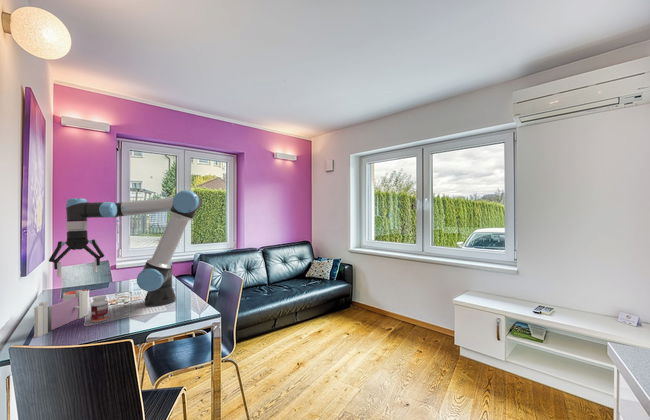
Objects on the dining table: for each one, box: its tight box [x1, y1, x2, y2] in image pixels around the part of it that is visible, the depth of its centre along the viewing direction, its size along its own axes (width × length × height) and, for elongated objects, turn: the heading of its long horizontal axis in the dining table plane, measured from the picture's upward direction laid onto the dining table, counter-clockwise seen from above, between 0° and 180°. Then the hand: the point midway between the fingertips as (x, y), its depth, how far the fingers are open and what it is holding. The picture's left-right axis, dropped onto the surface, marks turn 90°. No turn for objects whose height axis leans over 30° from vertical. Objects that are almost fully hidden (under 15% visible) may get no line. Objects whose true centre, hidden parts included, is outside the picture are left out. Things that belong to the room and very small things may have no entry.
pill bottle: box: [90, 294, 109, 323], centre depth 132 cm, size 6×6×11 cm
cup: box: [62, 289, 90, 311], centre depth 144 cm, size 10×10×10 cm
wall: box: [33, 289, 88, 338], centre depth 126 cm, size 2×25×13 cm, turn 2°
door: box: [48, 297, 79, 333], centre depth 126 cm, size 3×15×10 cm, turn 2°
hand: (78, 274), depth 137 cm, fingers open, 13 cm apart
